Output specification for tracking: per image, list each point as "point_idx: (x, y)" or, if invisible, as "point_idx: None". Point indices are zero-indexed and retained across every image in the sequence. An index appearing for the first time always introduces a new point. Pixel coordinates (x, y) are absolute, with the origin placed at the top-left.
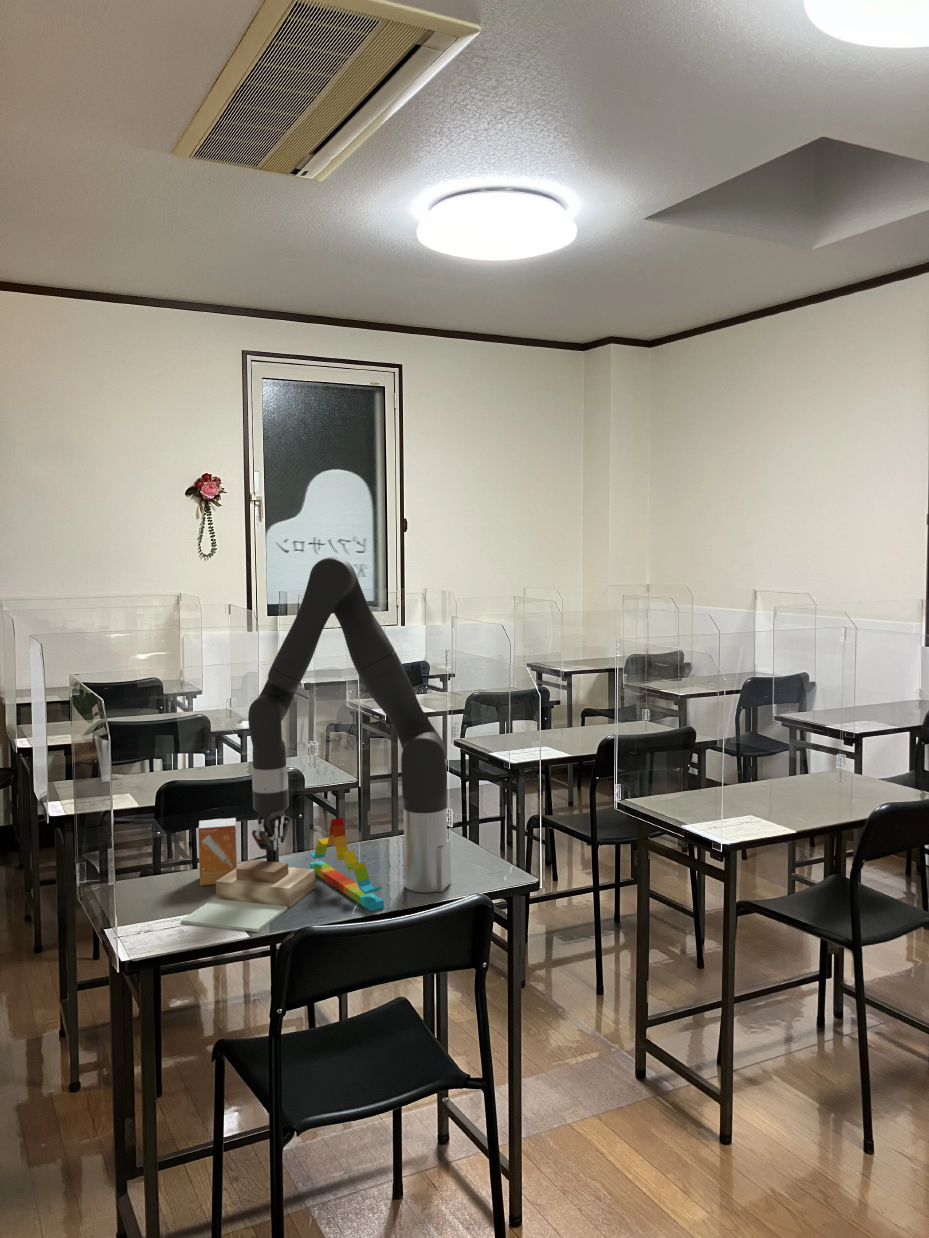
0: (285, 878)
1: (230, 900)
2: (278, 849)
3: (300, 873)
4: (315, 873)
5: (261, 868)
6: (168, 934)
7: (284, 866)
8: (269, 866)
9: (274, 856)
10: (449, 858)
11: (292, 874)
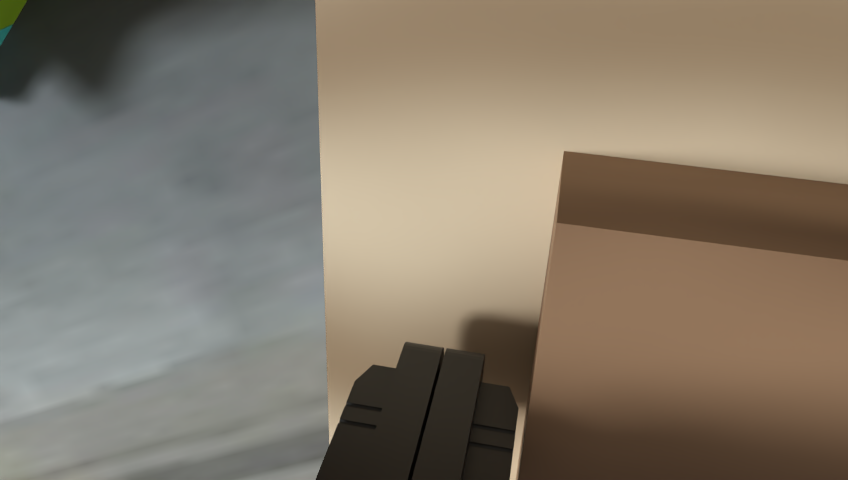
0: (742, 131)
1: None
2: (362, 478)
3: (515, 3)
4: (21, 8)
5: (825, 476)
6: None
7: (683, 231)
8: (734, 410)
9: (466, 450)
10: None
11: (573, 96)
